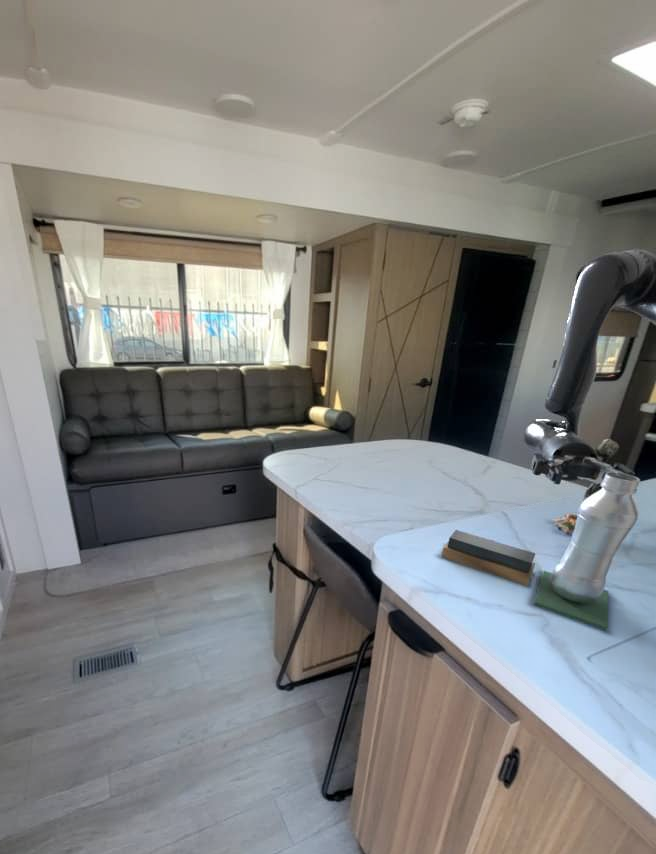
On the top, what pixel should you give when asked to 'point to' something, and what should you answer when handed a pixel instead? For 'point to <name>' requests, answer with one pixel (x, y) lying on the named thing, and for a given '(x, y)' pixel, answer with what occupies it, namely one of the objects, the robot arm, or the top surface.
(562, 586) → the silver metal bottle
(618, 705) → the top surface
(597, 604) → the drying mat
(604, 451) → the plant with pod
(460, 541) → the grey and wooden block
